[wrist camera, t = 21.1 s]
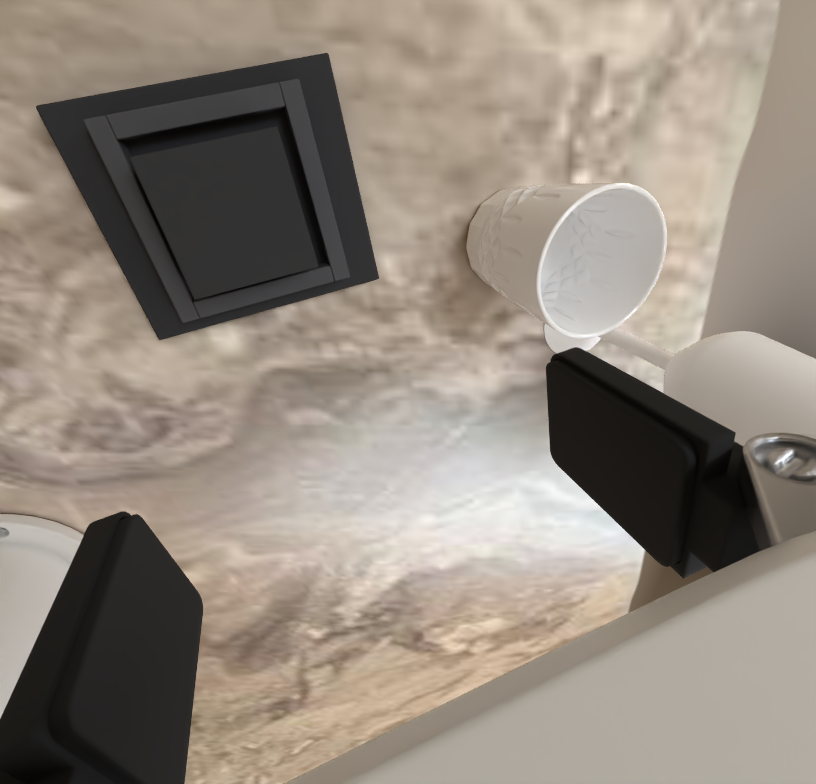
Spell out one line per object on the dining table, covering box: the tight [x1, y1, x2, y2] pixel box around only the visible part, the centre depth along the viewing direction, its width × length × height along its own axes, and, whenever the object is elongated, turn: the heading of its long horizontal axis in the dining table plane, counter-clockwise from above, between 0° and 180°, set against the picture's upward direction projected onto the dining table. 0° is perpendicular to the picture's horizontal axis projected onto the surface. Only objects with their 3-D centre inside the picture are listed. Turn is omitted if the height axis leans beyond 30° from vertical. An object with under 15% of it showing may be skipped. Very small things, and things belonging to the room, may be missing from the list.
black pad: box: [129, 127, 318, 300], centre depth 22 cm, size 6×6×4 cm
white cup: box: [466, 183, 667, 339], centre depth 27 cm, size 8×8×10 cm
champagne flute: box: [544, 324, 816, 446], centre depth 26 cm, size 7×7×24 cm
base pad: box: [36, 53, 379, 340], centre depth 24 cm, size 14×12×2 cm
